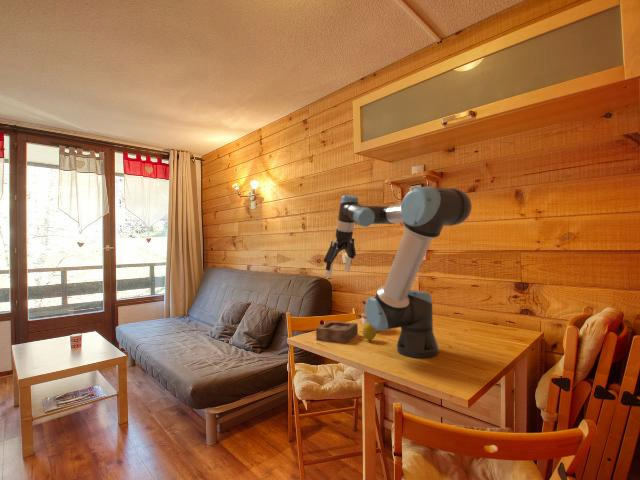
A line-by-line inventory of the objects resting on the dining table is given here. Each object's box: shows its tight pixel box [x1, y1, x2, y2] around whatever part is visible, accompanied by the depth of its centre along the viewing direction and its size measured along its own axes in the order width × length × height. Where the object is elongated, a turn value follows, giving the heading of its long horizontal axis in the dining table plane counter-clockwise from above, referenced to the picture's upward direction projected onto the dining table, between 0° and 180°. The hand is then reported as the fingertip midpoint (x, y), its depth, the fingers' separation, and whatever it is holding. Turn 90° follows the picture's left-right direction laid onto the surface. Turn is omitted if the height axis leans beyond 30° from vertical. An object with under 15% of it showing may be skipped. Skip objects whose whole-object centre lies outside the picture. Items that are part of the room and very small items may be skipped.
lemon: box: [362, 322, 377, 342], centre depth 139 cm, size 6×6×8 cm
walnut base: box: [315, 320, 359, 344], centre depth 146 cm, size 14×14×5 cm
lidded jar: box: [360, 312, 380, 333], centre depth 156 cm, size 11×11×9 cm
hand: (337, 273), depth 152 cm, fingers open, 13 cm apart
